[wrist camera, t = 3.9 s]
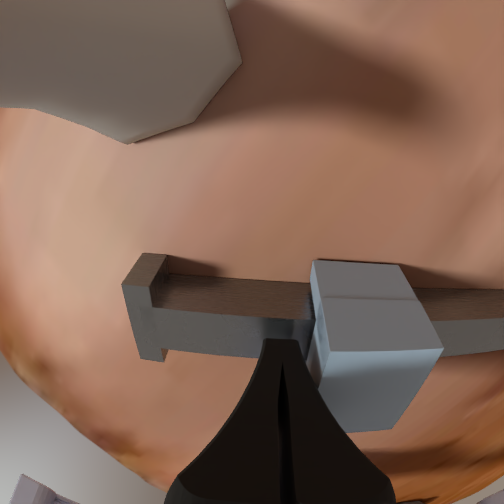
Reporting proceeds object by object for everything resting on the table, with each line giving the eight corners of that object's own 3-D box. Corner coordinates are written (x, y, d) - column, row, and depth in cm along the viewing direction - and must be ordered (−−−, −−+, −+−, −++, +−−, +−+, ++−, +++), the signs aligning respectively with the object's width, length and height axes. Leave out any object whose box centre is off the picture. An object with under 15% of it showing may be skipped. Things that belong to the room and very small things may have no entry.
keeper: (370, 346, 16) (391, 429, 11) (298, 345, 16) (302, 434, 11) (398, 264, 13) (444, 348, 8) (313, 258, 13) (330, 351, 9)
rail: (524, 341, 16) (555, 393, 11) (158, 341, 17) (128, 422, 12) (565, 260, 12) (611, 309, 8) (139, 227, 13) (78, 304, 8)
